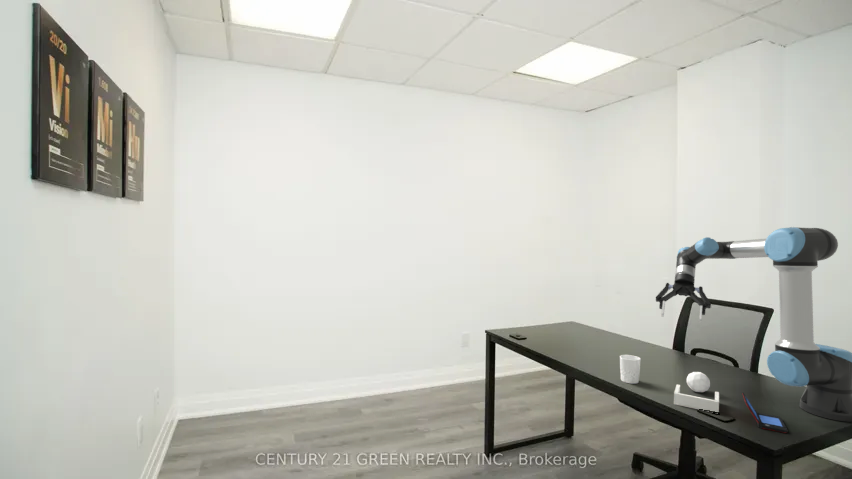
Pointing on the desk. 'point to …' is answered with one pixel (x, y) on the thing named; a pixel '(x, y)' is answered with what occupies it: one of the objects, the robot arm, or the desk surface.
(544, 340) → the desk surface
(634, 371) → the white cup
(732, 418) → the desk surface
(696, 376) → the geometric ball
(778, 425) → the handheld game console
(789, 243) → the robot arm
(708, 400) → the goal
